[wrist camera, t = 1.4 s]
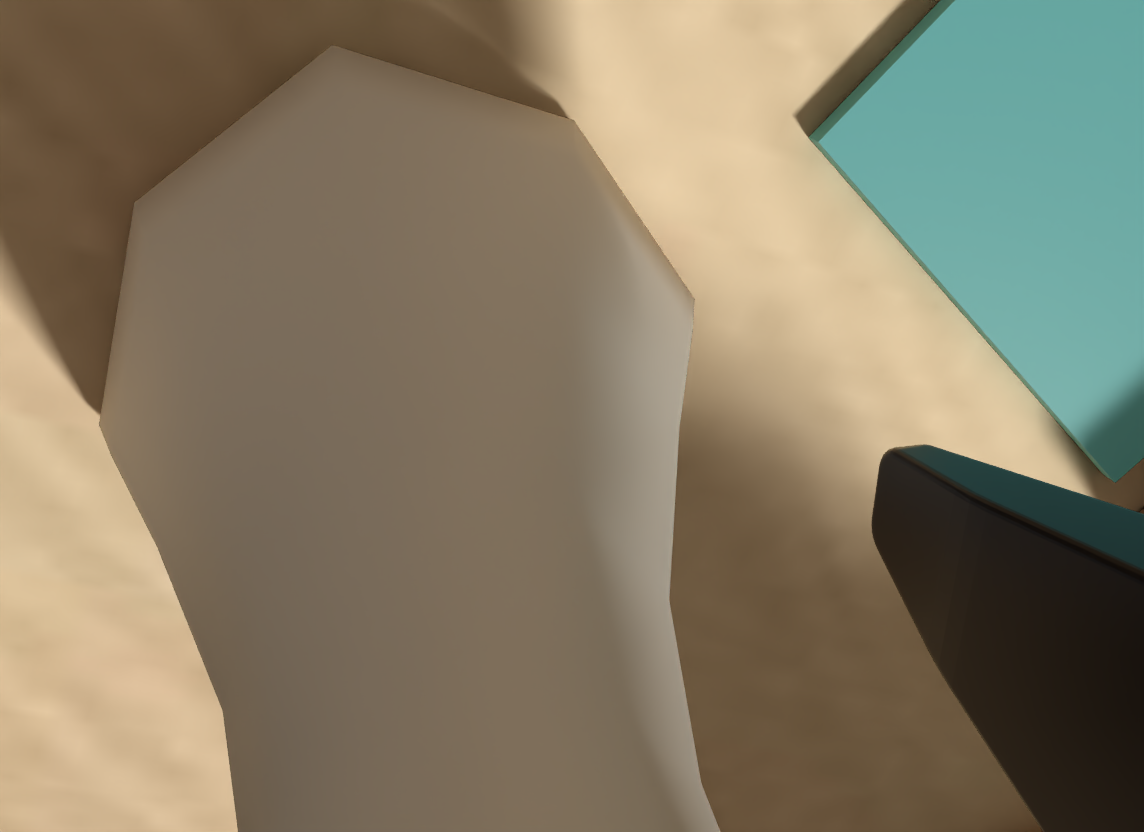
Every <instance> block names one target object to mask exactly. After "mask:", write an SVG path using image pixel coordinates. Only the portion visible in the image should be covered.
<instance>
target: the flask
mask: <svg viewBox="0 0 1144 832" xmlns="http://www.w3.org/2000/svg"><path fill="white" fill-rule="evenodd" d="M694 300H695V299H694V297H693V296H692V295H691V293H690V292H689V290H688V289H687V287H686V286H685V284H684V283H683V281H682V280H681V278H680V277H679V275H678V274H677V272H676V271H675V269H674V268H673V266H672V265H671V263H670V262H669V260H668V259H667V257H666V256H665V255H664V253H663V252H662V250H661V249H660V247H659V246H658V244H657V243H656V241H655V240H654V238H653V237H652V235H651V234H650V232H649V231H648V229H647V228H646V226H645V225H644V223H643V222H642V220H641V219H640V217H639V216H638V215H637V213H636V212H635V210H634V209H633V207H632V206H631V204H630V203H629V201H628V200H627V198H626V197H625V195H624V194H623V192H622V191H621V189H620V188H619V186H618V185H617V183H616V182H615V180H614V179H613V177H612V176H611V174H610V173H609V172H608V170H607V169H606V167H605V166H604V164H603V163H602V161H601V160H600V158H599V157H598V155H597V154H596V152H595V151H594V149H593V148H592V146H591V145H590V143H589V142H588V140H587V139H586V137H585V136H584V134H583V133H582V132H581V130H580V129H579V127H578V126H577V124H576V123H575V121H574V120H571V119H567V118H564V117H561V116H558V115H555V114H551V113H548V112H545V111H542V110H539V109H536V108H532V107H529V106H526V105H523V104H520V103H516V102H513V101H510V100H507V99H504V98H500V97H497V96H494V95H491V94H488V93H484V92H481V91H478V90H475V89H472V88H468V87H465V86H462V85H459V84H456V83H452V82H449V81H446V80H443V79H440V78H437V77H433V76H430V75H427V74H424V73H421V72H417V71H414V70H411V69H408V68H405V67H401V66H398V65H395V64H392V63H389V62H385V61H382V60H379V59H376V58H373V57H369V56H366V55H363V54H360V53H357V52H354V51H350V50H347V49H344V48H341V47H338V46H334V45H332V46H330V47H329V48H328V49H327V50H325V51H324V52H323V53H322V54H320V55H319V56H318V57H317V58H315V59H314V60H313V61H312V62H310V63H309V64H308V65H306V66H305V67H304V68H303V69H301V70H300V71H299V72H298V73H296V74H295V75H294V76H293V77H291V78H290V79H289V80H288V81H286V82H285V83H284V84H283V85H281V86H280V87H279V88H278V89H276V90H275V91H274V92H273V93H271V94H270V95H269V96H268V97H266V98H265V99H264V100H263V101H261V102H260V103H259V104H258V105H256V106H255V107H254V108H252V109H251V110H250V111H249V112H247V113H246V114H245V115H244V116H242V117H241V118H240V119H239V120H237V121H236V122H235V123H234V124H232V125H231V126H230V127H229V128H227V129H226V130H225V131H224V132H222V133H221V134H220V135H219V136H217V137H216V138H215V139H214V140H212V141H211V142H210V143H209V144H207V145H206V146H205V147H204V148H202V149H201V150H200V151H198V152H197V153H196V154H195V155H193V156H192V157H191V158H190V159H188V160H187V161H186V162H185V163H183V164H182V165H181V166H180V167H178V168H177V169H176V170H175V171H173V172H172V173H171V174H170V175H168V176H167V177H166V178H165V179H163V180H162V181H161V182H160V183H158V184H157V185H156V186H155V187H153V188H152V189H151V190H150V191H148V192H147V193H146V194H144V195H143V196H142V197H141V198H139V199H138V200H137V201H136V202H134V208H133V214H132V220H131V227H130V233H129V239H128V246H127V252H126V258H125V264H124V271H123V277H122V283H121V290H120V296H119V302H118V309H117V315H116V321H115V327H114V334H113V340H112V346H111V353H110V359H109V365H108V372H107V378H106V384H105V390H104V397H103V403H102V409H101V416H100V422H99V426H100V428H101V431H102V433H103V436H104V438H105V441H106V443H107V446H108V448H109V451H110V453H111V456H112V458H113V460H114V462H115V464H116V466H117V468H118V470H119V472H120V474H121V476H122V478H123V480H124V482H125V484H126V486H127V488H128V490H129V492H130V494H131V496H132V498H133V500H134V502H135V504H136V506H137V508H138V510H139V512H140V514H141V516H142V518H143V520H144V522H145V524H146V526H147V528H148V530H149V531H150V533H151V535H152V537H153V539H154V541H155V543H156V545H157V547H158V550H159V552H160V555H161V557H162V560H163V562H164V565H165V567H166V570H167V572H168V575H169V577H170V580H171V582H172V585H173V587H174V590H175V592H176V595H177V597H178V600H179V602H180V605H181V607H182V610H183V612H184V615H185V617H186V620H187V622H188V625H189V627H190V630H191V632H192V635H193V637H194V640H195V642H196V645H197V647H198V650H199V652H200V655H201V657H202V660H203V662H204V665H205V667H206V670H207V672H208V675H209V677H210V680H211V682H212V685H213V687H214V690H215V692H216V695H217V697H218V700H219V702H220V705H221V707H222V710H223V716H224V724H225V732H226V740H227V748H228V756H229V764H230V771H231V779H232V787H233V795H234V803H235V811H236V819H237V827H238V832H720V829H719V827H718V824H717V822H716V819H715V817H714V814H713V812H712V809H711V807H710V804H709V801H708V799H707V796H706V794H705V791H704V789H703V786H702V784H701V778H700V773H699V767H698V761H697V756H696V750H695V744H694V739H693V733H692V727H691V721H690V716H689V710H688V704H687V699H686V693H685V687H684V682H683V676H682V670H681V665H680V659H679V653H678V647H677V642H676V636H675V630H674V625H673V619H672V613H671V608H670V602H669V596H670V579H671V562H672V545H673V529H674V512H675V495H676V478H677V461H678V444H679V428H680V421H681V414H682V406H683V399H684V391H685V384H686V376H687V369H688V362H689V354H690V347H691V339H692V332H693V317H694Z"/></svg>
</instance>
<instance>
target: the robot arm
mask: <svg viewBox="0 0 1144 832" xmlns="http://www.w3.org/2000/svg"><path fill="white" fill-rule="evenodd" d="M872 534H873V538H874V542H875V545H876V547H877V549H878V551H879V553H880V555H881V557H882V559H883V561H884V563H885V565H886V567H887V569H888V571H889V573H890V575H891V577H892V579H893V581H894V583H895V585H896V587H897V589H898V591H899V593H900V595H901V597H902V599H903V601H904V603H905V605H906V607H907V609H908V611H909V613H910V615H911V617H912V619H913V621H914V623H915V625H916V627H917V629H918V631H919V633H920V635H921V637H922V639H923V641H924V643H925V645H926V647H927V649H928V651H929V653H930V655H931V656H932V658H933V660H934V662H935V664H936V666H937V667H938V669H939V671H940V672H941V674H942V676H943V677H944V679H945V681H946V682H947V684H948V686H949V687H950V689H951V690H952V692H953V694H954V695H955V697H956V698H957V700H958V701H959V703H960V704H961V706H962V707H963V709H964V711H965V712H966V714H967V715H968V717H969V718H970V720H971V721H972V723H973V724H974V726H975V728H976V729H977V731H978V732H979V734H980V735H981V737H982V738H983V740H984V741H985V743H986V745H987V746H988V748H989V749H990V751H991V752H992V754H993V755H994V757H995V758H996V760H997V762H998V763H999V765H1000V766H1001V768H1002V769H1003V771H1004V772H1005V774H1006V775H1007V777H1008V778H1009V780H1010V782H1011V783H1012V785H1013V786H1014V788H1015V789H1016V791H1017V792H1018V794H1019V795H1020V797H1021V799H1022V800H1023V802H1024V803H1025V805H1026V806H1027V808H1028V809H1029V811H1030V812H1031V814H1032V816H1033V817H1034V819H1035V820H1036V822H1037V823H1038V825H1039V826H1040V828H1041V829H1042V831H1043V832H1144V514H1142V513H1139V512H1136V511H1132V510H1129V509H1126V508H1123V507H1120V506H1117V505H1114V504H1111V503H1108V502H1104V501H1101V500H1098V499H1095V498H1092V497H1089V496H1086V495H1083V494H1080V493H1077V492H1073V491H1070V490H1067V489H1064V488H1061V487H1058V486H1055V485H1052V484H1049V483H1045V482H1042V481H1039V480H1036V479H1033V478H1030V477H1027V476H1024V475H1021V474H1017V473H1014V472H1011V471H1008V470H1005V469H1002V468H999V467H996V466H993V465H989V464H986V463H983V462H980V461H977V460H974V459H971V458H968V457H965V456H962V455H958V454H955V453H952V452H949V451H946V450H943V449H940V448H937V447H934V446H930V445H914V446H905V447H896V448H892V449H889V450H888V451H887V452H886V453H885V454H884V455H883V457H882V459H881V462H880V466H879V472H878V479H877V486H876V493H875V500H874V508H873V515H872Z"/></svg>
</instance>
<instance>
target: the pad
mask: <svg viewBox="0 0 1144 832" xmlns="http://www.w3.org/2000/svg"><path fill="white" fill-rule="evenodd" d="M809 139H810V140H811V141H812V142H813V143H814V144H815V145H816V147H817V148H818V149H819V150H820V151H821V152H822V153H823V155H824V156H825V157H826V158H827V159H828V160H829V161H830V163H831V164H832V165H833V166H834V167H835V168H836V169H837V171H838V172H839V173H840V174H841V175H842V176H843V177H844V179H845V180H846V181H847V182H848V183H849V184H850V185H851V187H852V188H853V189H854V190H855V191H856V192H857V193H858V195H859V196H860V197H861V198H862V199H863V200H864V201H865V203H866V204H867V205H868V206H869V207H870V208H871V209H872V211H873V212H874V213H875V214H876V215H877V216H878V217H879V219H880V220H881V221H882V222H883V223H884V224H885V225H886V227H887V228H888V229H889V230H890V231H891V232H892V233H893V235H894V236H895V237H896V238H897V239H898V240H899V241H900V243H901V244H902V245H903V246H904V247H905V248H906V249H907V251H908V252H909V253H910V254H911V255H912V256H913V257H914V259H915V260H916V261H917V262H918V263H919V264H920V265H921V267H922V268H923V269H924V270H925V271H926V272H927V273H928V275H929V276H930V277H931V278H932V279H933V280H934V281H935V283H936V284H937V285H938V286H939V287H940V288H941V289H942V291H943V292H944V293H945V294H946V295H947V296H948V297H949V299H950V300H951V301H952V302H953V303H954V304H955V305H956V307H957V308H958V309H959V310H960V311H961V312H962V313H963V315H964V316H965V317H966V318H967V319H968V320H969V321H970V323H971V324H972V325H973V326H974V327H975V328H976V329H977V331H978V332H979V333H980V334H981V335H982V336H983V338H984V339H985V340H986V341H987V342H988V343H989V344H990V346H991V347H992V348H993V349H994V350H995V351H996V352H997V354H998V355H999V356H1000V357H1001V358H1002V359H1003V360H1004V362H1005V363H1006V364H1007V365H1008V366H1009V367H1010V368H1011V370H1012V371H1013V372H1014V373H1015V374H1016V375H1017V376H1018V378H1019V379H1020V380H1021V381H1022V382H1023V383H1024V384H1025V386H1026V387H1027V388H1028V389H1029V390H1030V391H1031V392H1032V394H1033V395H1034V396H1035V397H1036V398H1037V399H1038V400H1039V402H1040V403H1041V404H1042V405H1043V406H1044V407H1045V408H1046V410H1047V411H1048V412H1049V413H1050V414H1051V415H1052V416H1053V418H1054V419H1055V420H1056V421H1057V422H1058V423H1059V424H1060V426H1061V427H1062V428H1063V429H1064V430H1065V431H1066V432H1067V434H1068V435H1069V436H1070V437H1071V438H1072V439H1073V440H1074V442H1075V443H1076V444H1077V445H1078V446H1079V447H1080V448H1081V450H1082V451H1083V452H1084V453H1085V454H1086V455H1087V456H1088V458H1089V459H1090V460H1091V461H1092V462H1093V463H1094V464H1095V466H1096V467H1097V468H1098V469H1099V470H1100V471H1101V472H1102V474H1104V475H1105V476H1106V477H1108V478H1109V479H1111V480H1112V481H1113V482H1115V483H1116V482H1117V481H1118V480H1119V479H1120V478H1121V477H1122V476H1124V475H1125V474H1126V473H1127V472H1128V471H1129V470H1130V469H1132V468H1133V467H1134V466H1135V465H1136V464H1137V463H1138V462H1140V461H1141V460H1142V459H1143V458H1144V0H940V1H939V2H938V3H937V4H936V5H935V7H934V8H933V9H932V10H931V11H930V12H929V13H928V14H927V15H926V16H925V17H924V18H923V19H922V20H921V21H920V22H919V23H918V24H917V25H916V26H915V27H914V28H913V29H912V30H911V31H910V33H909V34H908V35H907V36H906V37H905V38H904V39H903V40H902V41H901V42H900V43H899V44H898V45H897V46H896V47H895V48H894V49H893V50H892V51H891V52H890V53H889V54H888V55H887V56H886V57H885V58H884V60H883V61H882V62H881V63H880V64H879V65H878V66H877V67H876V68H875V69H874V70H873V71H872V72H871V73H870V74H869V75H868V76H867V77H866V78H865V79H864V80H863V81H862V82H861V83H860V84H859V86H858V87H857V88H856V89H855V90H854V91H853V92H852V93H851V94H850V95H849V96H848V97H847V98H846V99H845V100H844V101H843V102H842V103H841V104H840V105H839V106H838V107H837V108H836V109H835V110H834V112H833V113H832V114H831V115H830V116H829V117H828V118H827V119H826V120H825V121H824V122H823V123H822V124H821V125H820V126H819V127H818V128H817V129H816V130H815V131H814V132H813V133H812V134H811V135H810V136H809Z"/></svg>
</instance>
